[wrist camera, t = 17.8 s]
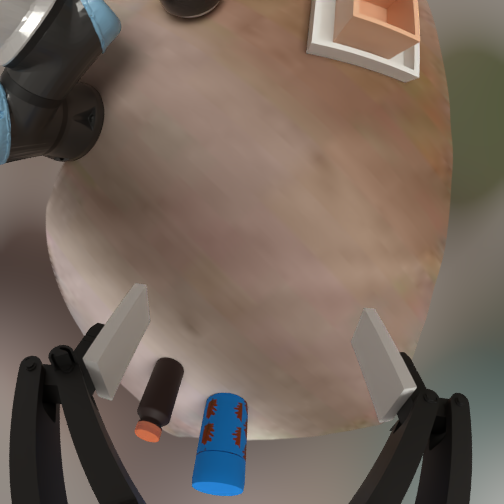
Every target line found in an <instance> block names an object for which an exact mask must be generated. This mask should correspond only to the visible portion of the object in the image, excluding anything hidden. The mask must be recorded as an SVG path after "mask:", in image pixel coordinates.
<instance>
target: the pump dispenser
mask: <svg viewBox="0 0 504 504" xmlns="http://www.w3.org/2000/svg"><path fill="white" fill-rule="evenodd" d="M219 1H220V0H160V3H161V5H162V6H163V8H164V9H165V10H166V11H167V12H168V13H170V14H172V15H175V16H179V17H185V18H193V17H198V16H201V15H204V14H206V13H208V12H210V11H211V10H212V9H214V8H215V7H216V6H217V4H218V3H219Z"/></svg>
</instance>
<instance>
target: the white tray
mask: <svg viewBox="0 0 504 504" xmlns="http://www.w3.org/2000/svg"><path fill="white" fill-rule="evenodd" d="M335 6H336V0H312V3H311V13H310V23H309V32H308V41H307V50H306V53H308V54H312V55H317V56H322V57H326V58H330V59H334V60H338V61H342V62H346V63H349V64H353V65H356V66H360V67H363V68H366V69H369V70H372V71H375V72H378V73H381V74H384V75H387V76H389V77H392V78H395V79H397V80H400V81H402V82H408V81H411V80H414V79H417V78H419V62H420V50H419V43H417V44H415V45H414V46H412V47H410V48H408V49H406V50H405V51H403V52H401V53H399V54H397V55H396V56H394V57H392V58H391V59H389V60H388V59H385V58H383V57H380V56H377V55H374V54H371V53H368V52H365V51H362V50H359V49H355V48H352V47H349V46H345V45H341V44H338V43H334V42H333V34H334V21H335Z"/></svg>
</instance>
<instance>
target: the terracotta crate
mask: <svg viewBox="0 0 504 504" xmlns="http://www.w3.org/2000/svg"><path fill="white" fill-rule="evenodd" d="M333 42H334V43H338V44H341V45H345V46H349V47H352V48H355V49H359V50H362V51H365V52H368V53H371V54H374V55H377V56H380V57H383V58H385V59H388V60H389V59H391V58H392V57H394V56H396V55H397V54H399V53H401V52H403V51H405V50H406V49H408V48H410V47H412V46H414V45H415V44H417V43H419V42H420V25H419V12H418V1H417V0H336V6H335V21H334V34H333Z"/></svg>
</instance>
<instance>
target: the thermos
mask: <svg viewBox="0 0 504 504" xmlns="http://www.w3.org/2000/svg"><path fill="white" fill-rule="evenodd" d="M247 421H248V412H247V403H246V401H245V400H244V399H243V398H241V397H239V396H238V395H234V394H231V393H217V394H214V395H212V396H210V397H209V398H208V399H207V403H206V407H205V410H204V416H203V421H202V426H201V432H200V437H199V443H198V449H197V455H196V460H195V466H194V471H193V477H192V487H193V488H194V489H196V490H198V491H201V492H204V493H207V494H212V495H219V496H233V495H238V494H241V493H242V492H243V489H244V483H245V462H246V442H247Z"/></svg>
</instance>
